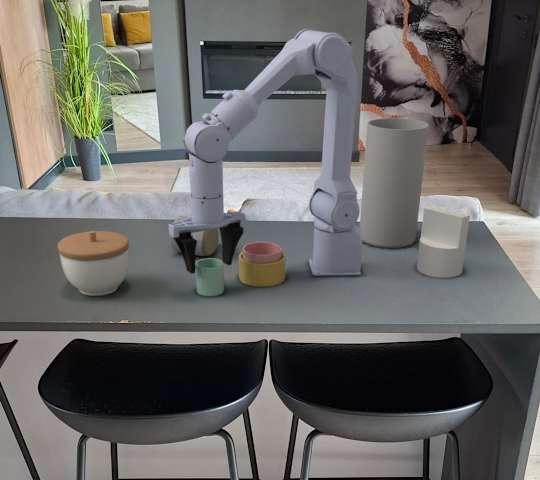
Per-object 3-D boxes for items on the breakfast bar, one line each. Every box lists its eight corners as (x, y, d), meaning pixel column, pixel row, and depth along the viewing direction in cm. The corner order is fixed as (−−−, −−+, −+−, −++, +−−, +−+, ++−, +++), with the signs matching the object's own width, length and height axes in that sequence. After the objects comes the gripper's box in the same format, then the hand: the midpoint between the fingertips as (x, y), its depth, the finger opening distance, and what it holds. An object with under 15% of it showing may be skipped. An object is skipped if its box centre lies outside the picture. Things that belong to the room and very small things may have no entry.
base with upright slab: (408, 269, 143) (414, 211, 137) (431, 257, 149) (438, 201, 143) (447, 281, 137) (455, 221, 132) (470, 268, 143) (479, 211, 137)
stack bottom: (283, 268, 143) (283, 247, 140) (286, 286, 135) (287, 264, 133) (238, 269, 142) (238, 248, 140) (239, 287, 134) (239, 264, 132)
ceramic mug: (205, 262, 145) (204, 225, 142) (170, 256, 148) (168, 220, 144) (227, 246, 154) (226, 212, 150) (193, 241, 156) (192, 207, 153)
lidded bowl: (59, 280, 136) (51, 225, 131) (125, 271, 140) (119, 217, 135) (69, 306, 126) (60, 247, 121) (139, 296, 130) (134, 238, 125)
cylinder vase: (382, 252, 151) (393, 132, 139) (347, 235, 160) (355, 121, 148) (427, 243, 156) (441, 126, 144) (391, 227, 166) (402, 116, 154)
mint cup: (224, 285, 135) (223, 257, 132) (224, 296, 131) (223, 268, 128) (197, 285, 135) (195, 258, 132) (196, 296, 130) (195, 268, 128)
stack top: (279, 270, 142) (280, 241, 139) (282, 285, 135) (283, 255, 132) (242, 270, 142) (242, 241, 139) (243, 285, 135) (243, 255, 132)
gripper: (231, 183, 130) (232, 253, 137) (159, 195, 123) (164, 268, 130) (251, 192, 125) (251, 265, 132) (177, 205, 118) (181, 280, 125)
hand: (209, 267), depth 130 cm, fingers open, 7 cm apart
